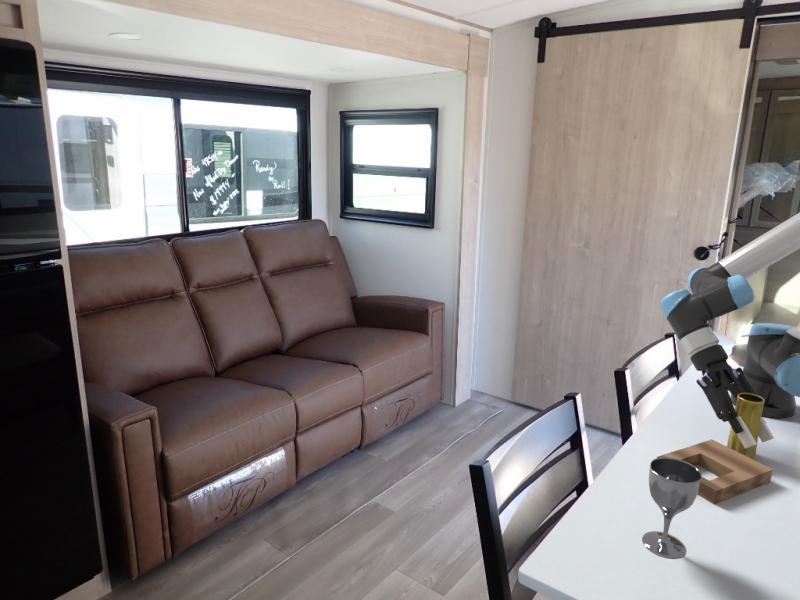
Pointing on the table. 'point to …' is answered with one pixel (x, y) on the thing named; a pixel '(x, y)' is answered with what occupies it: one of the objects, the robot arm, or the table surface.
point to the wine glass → (671, 501)
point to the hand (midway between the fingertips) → (759, 443)
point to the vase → (747, 422)
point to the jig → (723, 470)
